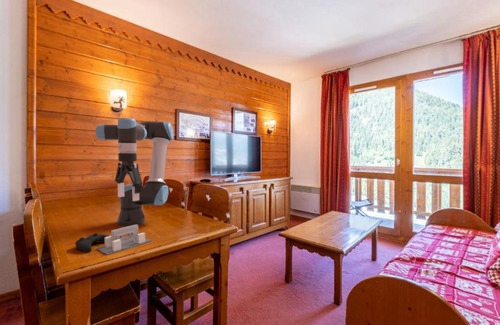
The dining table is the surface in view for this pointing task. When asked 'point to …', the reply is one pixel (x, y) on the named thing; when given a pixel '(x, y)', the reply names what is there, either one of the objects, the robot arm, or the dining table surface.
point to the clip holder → (117, 244)
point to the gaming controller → (89, 241)
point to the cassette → (130, 230)
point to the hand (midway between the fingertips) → (128, 198)
